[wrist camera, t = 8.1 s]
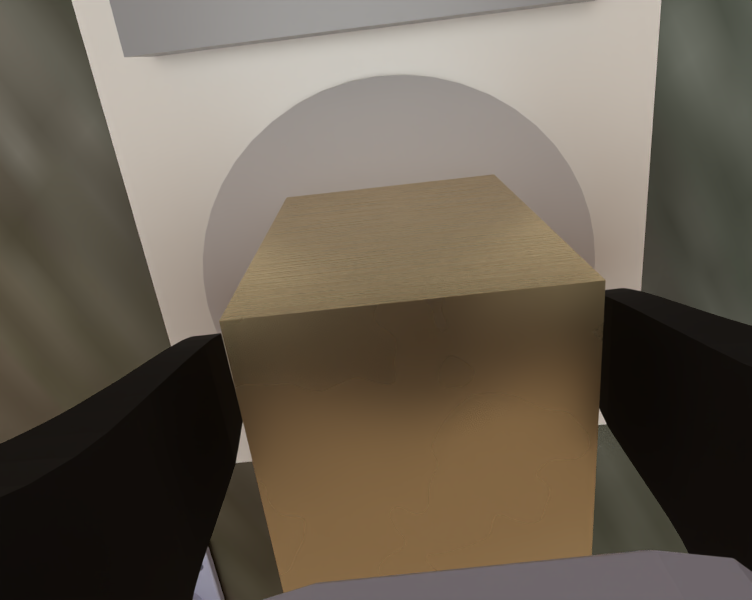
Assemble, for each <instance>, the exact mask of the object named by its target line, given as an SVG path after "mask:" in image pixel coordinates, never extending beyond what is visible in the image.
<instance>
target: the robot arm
mask: <svg viewBox="0 0 752 600" xmlns="http://www.w3.org/2000/svg"><path fill="white" fill-rule="evenodd" d="M599 409H600V411H601V413H602V415H603V417H604V420H605V422H606V424H607V425H608V427H609V429H610V430H611V432H612V433H613V435H614V436H615V438H616V439H617V441H618V443H619V444H620V446H621V447H622V449H623V450H624V452H625V453H626V455H627V456H628V458H629V459H630V461H631V462H632V464H633V465H634V467H635V468H636V470H637V471H638V473H639V474H640V476H641V477H642V479H643V480H644V482H645V483H646V485H647V486H648V488H649V489H650V491H651V492H652V494H653V495H654V497H655V498H656V500H657V501H658V503H659V504H660V506H661V507H662V509H663V510H664V512H665V513H666V515H667V516H668V518H669V519H670V521H671V523H672V524H673V526H674V528H675V529H676V531H677V533H678V534H679V536H680V538H681V539H682V541H683V543H684V545H685V547H686V549H687V551H688V553H689V554H686V553H676V552H667V551H657V550H640V551H630V552H620V553H610V554H600V555H590V556H580V557H570V558H560V559H550V560H540V561H530V562H520V563H510V564H500V565H490V566H480V567H469V568H459V569H449V570H439V571H429V572H419V573H409V574H399V575H389V576H379V577H369V578H359V579H349V580H339V581H329V582H319V583H314V584H311V585H308V586H305V587H301V588H298V589H295V590H292V591H288V592H285V593H282V594H279V595H275V596H272V597H269V598H266V599H262V600H752V326H750V325H747V324H743V323H740V322H737V321H733V320H730V319H727V318H723V317H720V316H717V315H714V314H711V313H708V312H705V311H702V310H698V309H695V308H692V307H689V306H686V305H683V304H680V303H677V302H674V301H671V300H668V299H665V298H662V297H659V296H655V295H652V294H649V293H645V292H641V291H638V290H633V289H627V288H618V289H609V290H605V303H604V323H603V342H602V362H601V381H600V401H599ZM242 423H243V420H242V416H241V411H240V407H239V403H238V399H237V395H236V391H235V387H234V383H233V379H232V375H231V371H230V367H229V363H228V358H227V354H226V350H225V346H224V342H223V338H222V334H221V333H218V334H209V335H200V336H192V337H189V338H186V339H184V340H182V341H180V342H178V343H176V344H175V345H173V346H171V347H169V348H168V349H166V350H165V351H163V352H161V353H160V354H158V355H157V356H155V357H154V358H152V359H150V360H149V361H147V362H146V363H144V364H143V365H141V366H140V367H138V368H137V369H135V370H133V371H132V372H130V373H129V374H127V375H126V376H124V377H123V378H121V379H119V380H118V381H116V382H115V383H113V384H111V385H110V386H108V387H106V388H105V389H103V390H101V391H100V392H98V393H96V394H95V395H93V396H91V397H90V398H88V399H86V400H85V401H83V402H81V403H80V404H78V405H76V406H75V407H73V408H71V409H69V410H67V411H66V412H64V413H62V414H60V415H58V416H56V417H54V418H53V419H51V420H49V421H47V422H45V423H43V424H41V425H39V426H37V427H35V428H33V429H31V430H29V431H27V432H25V433H23V434H21V435H19V436H16V437H14V438H12V439H10V440H8V441H6V442H3V443H1V444H0V600H225V599H224V596H223V592H222V589H221V586H220V583H219V579H218V576H217V573H216V569H215V566H214V563H213V560H212V556H211V553H210V550H209V547H208V545H209V542H210V539H211V536H212V533H213V530H214V527H215V524H216V521H217V518H218V515H219V512H220V509H221V506H222V503H223V500H224V498H225V494H226V491H227V488H228V485H229V482H230V479H231V476H232V473H233V470H234V467H235V463H236V458H237V453H238V448H239V442H240V436H241V429H242Z"/></svg>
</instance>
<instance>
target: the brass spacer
mask: <svg viewBox="0 0 752 600" xmlns="http://www.w3.org/2000/svg"><path fill="white" fill-rule="evenodd" d="M605 284H606V280H605V279H604V278H603V277H602V276H601V275H600V274H599V273H598V272H596V271H595V270H594V269H593V268H592V267H591V266H590V265H589V264H588V263H587V262H586V261H585V260H584V259H583V258H582V257H581V256H580V255H579V254H577V253H576V252H575V251H574V250H573V249H572V248H571V247H570V246H569V245H568V244H567V243H566V242H565V241H564V240H563V239H562V238H561V237H560V236H559V235H557V234H556V233H555V232H554V231H553V230H552V229H551V228H550V227H549V226H548V225H547V224H546V223H545V222H544V221H543V220H542V219H541V218H540V217H539V216H537V215H536V214H535V213H534V212H533V211H532V210H531V209H530V208H529V207H528V206H527V205H526V204H525V203H524V202H523V201H522V200H521V199H520V198H519V197H517V196H516V195H515V194H514V193H513V192H512V191H511V190H510V189H509V188H508V187H507V186H506V185H505V184H504V183H503V182H502V181H501V180H500V179H498V178H497V177H496V176H495V175H494V174H492V175H484V176H475V177H466V178H457V179H448V180H439V181H430V182H421V183H412V184H403V185H394V186H385V187H376V188H367V189H358V190H349V191H340V192H331V193H322V194H313V195H304V196H295V197H287V198H286V200H285V201H284V203H283V205H282V207H281V209H280V211H279V212H278V214H277V216H276V218H275V220H274V222H273V223H272V225H271V227H270V229H269V231H268V232H267V234H266V236H265V238H264V240H263V242H262V243H261V245H260V247H259V249H258V251H257V253H256V254H255V256H254V258H253V260H252V262H251V264H250V265H249V267H248V269H247V271H246V273H245V275H244V276H243V278H242V280H241V282H240V284H239V286H238V287H237V289H236V291H235V293H234V295H233V297H232V298H231V300H230V302H229V304H228V306H227V308H226V309H225V311H224V313H223V315H222V317H221V318H220V320H219V323H220V327H221V332H222V336H223V340H224V344H225V348H226V353H227V357H228V361H229V365H230V369H231V374H232V378H233V382H234V386H235V390H236V395H237V399H238V403H239V407H240V411H241V416H242V420H243V424H244V428H245V433H246V437H247V441H248V445H249V449H250V454H251V458H252V462H253V466H254V470H255V475H256V479H257V483H258V487H259V491H260V496H261V500H262V504H263V508H264V512H265V517H266V521H267V525H268V529H269V533H270V538H271V542H272V546H273V550H274V554H275V559H276V563H277V567H278V571H279V575H280V580H281V584H282V588H283V592H284V593H285V592H288V591H292V590H295V589H298V588H301V587H305V586H308V585H311V584H314V583H319V582H329V581H339V580H349V579H359V578H369V577H379V576H389V575H399V574H409V573H419V572H429V571H439V570H449V569H459V568H469V567H480V566H490V565H500V564H510V563H520V562H530V561H540V560H550V559H560V558H570V557H580V556H590V555H592V537H593V518H594V498H595V479H596V459H597V440H598V420H599V401H600V381H601V362H602V342H603V323H604V303H605Z"/></svg>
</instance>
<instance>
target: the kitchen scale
mask: <svg viewBox="0 0 752 600" xmlns="http://www.w3.org/2000/svg"><path fill="white" fill-rule="evenodd" d="M72 3H73V7H74V10H75V14H76V17H77V21H78V24H79V28H80V31H81V35H82V38H83V41H84V45H85V48H86V52H87V55H88V59H89V62H90V66H91V69H92V73H93V76H94V80H95V83H96V87H97V90H98V94H99V97H100V101H101V104H102V108H103V111H104V115H105V118H106V121H107V125H108V128H109V132H110V135H111V139H112V142H113V146H114V149H115V153H116V156H117V160H118V163H119V167H120V170H121V174H122V177H123V181H124V184H125V188H126V191H127V195H128V198H129V201H130V205H131V208H132V212H133V215H134V219H135V222H136V226H137V229H138V233H139V236H140V240H141V243H142V247H143V250H144V254H145V257H146V261H147V264H148V268H149V271H150V274H151V278H152V281H153V285H154V288H155V292H156V295H157V299H158V302H159V306H160V309H161V313H162V316H163V320H164V323H165V327H166V330H167V334H168V337H169V341H170V344H171V346H173V345H175V344H176V343H178V342H180V341H182V340H184V339H186V338H189V337H192V336H200V335H209V334H218V333H221V334H222V332H221V327H220V323H219V320H220V318H221V317H222V315H223V313H224V311H225V309H226V308H227V306H228V304H229V302H230V300H231V298H232V297H233V295H234V293H235V291H236V289H237V287H238V286H239V284H240V282H241V280H242V278H243V276H244V275H245V273H246V271H247V269H248V267H249V265H250V264H251V262H252V260H253V258H254V256H255V254H256V253H257V251H258V249H259V247H260V245H261V243H262V242H263V240H264V238H265V236H266V234H267V232H268V231H269V229H270V227H271V225H272V223H273V222H274V220H275V218H276V216H277V214H278V212H279V211H280V209H281V207H282V205H283V203H284V201H285V200H286V198H287V197H295V196H304V195H313V194H322V193H331V192H340V191H349V190H358V189H367V188H376V187H385V186H394V185H403V184H412V183H421V182H430V181H439V180H448V179H457V178H466V177H475V176H484V175H492V174H494V175H495V176H496V177H497V178H498V179H500V180H501V181H502V182H503V183H504V184H505V185H506V186H507V187H508V188H509V189H510V190H511V191H512V192H513V193H514V194H515V195H516V196H517V197H519V198H520V199H521V200H522V201H523V202H524V203H525V204H526V205H527V206H528V207H529V208H530V209H531V210H532V211H533V212H534V213H535V214H536V215H537V216H539V217H540V218H541V219H542V220H543V221H544V222H545V223H546V224H547V225H548V226H549V227H550V228H551V229H552V230H553V231H554V232H555V233H556V234H557V235H559V236H560V237H561V238H562V239H563V240H564V241H565V242H566V243H567V244H568V245H569V246H570V247H571V248H572V249H573V250H574V251H575V252H576V253H577V254H579V255H580V256H581V257H582V258H583V259H584V260H585V261H586V262H587V263H588V264H589V265H590V266H591V267H592V268H593V269H594V270H595V271H596V272H598V273H599V274H600V275H601V276H602V277H603V278H604V279H605V280H606V284H605V290H609V289H618V288H627V289H633V290H638V291H641V282H642V268H643V254H644V239H645V225H646V211H647V196H648V182H649V168H650V154H651V139H652V125H653V111H654V96H655V82H656V68H657V54H658V39H659V25H660V11H661V0H72ZM222 338H223V336H222ZM223 342H224V340H223ZM224 346H225V344H224ZM225 350H226V348H225ZM226 354H227V353H226ZM227 358H228V357H227ZM228 363H229V361H228ZM229 367H230V365H229ZM230 371H231V369H230ZM231 375H232V374H231ZM232 379H233V378H232ZM233 383H234V382H233ZM234 387H235V386H234ZM235 391H236V390H235ZM602 424H606V422H605V420H604V417H603V415H602V413H601V411H600V409H599V420H598V425H602ZM250 461H252V458H251V454H250V449H249V445H248V441H247V437H246V433H245V428H244V424H243V423H242V429H241V436H240V442H239V448H238V453H237V458H236V463H241V462H250Z"/></svg>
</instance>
